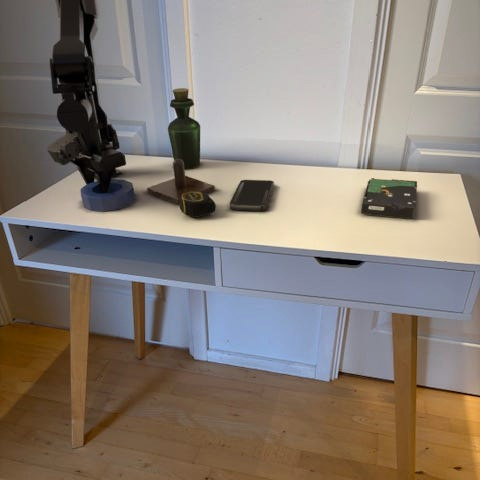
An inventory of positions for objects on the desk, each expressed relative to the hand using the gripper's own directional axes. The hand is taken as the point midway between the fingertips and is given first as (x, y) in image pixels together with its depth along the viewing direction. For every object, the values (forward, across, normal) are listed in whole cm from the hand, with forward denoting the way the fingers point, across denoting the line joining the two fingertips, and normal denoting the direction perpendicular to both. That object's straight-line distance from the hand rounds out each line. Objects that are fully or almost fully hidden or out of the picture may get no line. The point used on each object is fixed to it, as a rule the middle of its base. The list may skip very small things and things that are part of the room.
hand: (97, 191), depth 111 cm
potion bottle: (+1, -1, +27) cm, 27 cm away
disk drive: (+1, +51, +38) cm, 64 cm away
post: (+1, +12, +14) cm, 19 cm away
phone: (+1, +27, +22) cm, 35 cm away
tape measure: (+1, +24, +9) cm, 26 cm away
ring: (+1, +4, 0) cm, 5 cm away
